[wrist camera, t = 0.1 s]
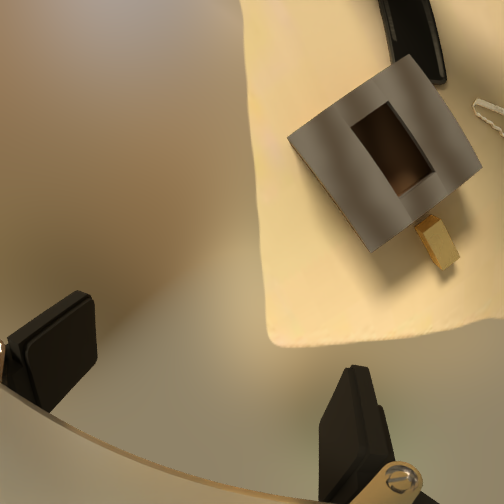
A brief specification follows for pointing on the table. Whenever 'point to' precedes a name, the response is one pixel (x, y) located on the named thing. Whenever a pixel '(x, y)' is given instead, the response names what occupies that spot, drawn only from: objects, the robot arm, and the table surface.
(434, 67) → the phone
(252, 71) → the table surface
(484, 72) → the table surface
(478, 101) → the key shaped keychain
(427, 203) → the box
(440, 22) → the table surface
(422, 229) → the wooden block
